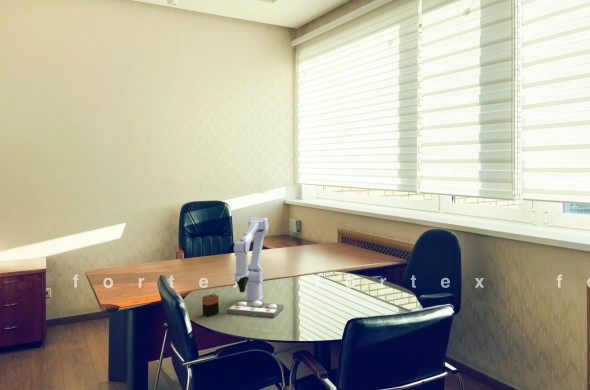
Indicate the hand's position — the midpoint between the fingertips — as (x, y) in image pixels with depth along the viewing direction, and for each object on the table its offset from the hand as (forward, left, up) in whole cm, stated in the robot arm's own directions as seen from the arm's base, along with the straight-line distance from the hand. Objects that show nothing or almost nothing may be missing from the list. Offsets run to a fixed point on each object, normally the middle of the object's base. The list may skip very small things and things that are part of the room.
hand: (242, 291), depth 239 cm
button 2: (0, +8, -7) cm, 11 cm away
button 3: (0, +16, -8) cm, 18 cm away
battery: (+13, -11, -9) cm, 19 cm away
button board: (+2, +8, -8) cm, 12 cm away
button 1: (0, 0, -8) cm, 8 cm away
